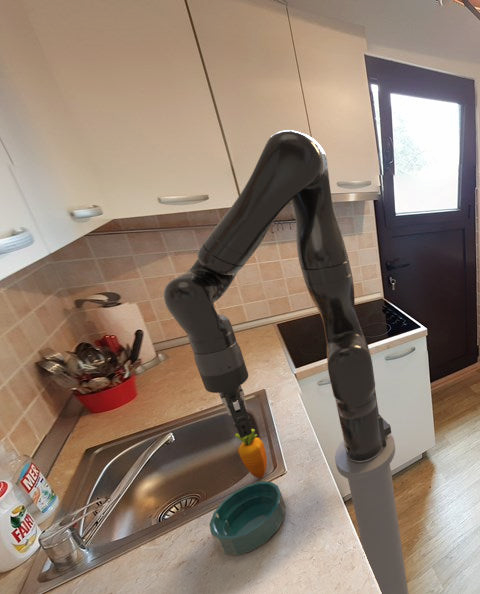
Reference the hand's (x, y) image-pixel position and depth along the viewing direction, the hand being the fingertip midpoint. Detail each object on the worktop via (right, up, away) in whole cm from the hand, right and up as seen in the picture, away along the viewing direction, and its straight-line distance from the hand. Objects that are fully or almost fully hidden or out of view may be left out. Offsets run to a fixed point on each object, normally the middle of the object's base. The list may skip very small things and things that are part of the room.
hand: (242, 424), depth 74 cm
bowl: (+5, -20, -4) cm, 21 cm away
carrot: (0, -16, +7) cm, 17 cm away
